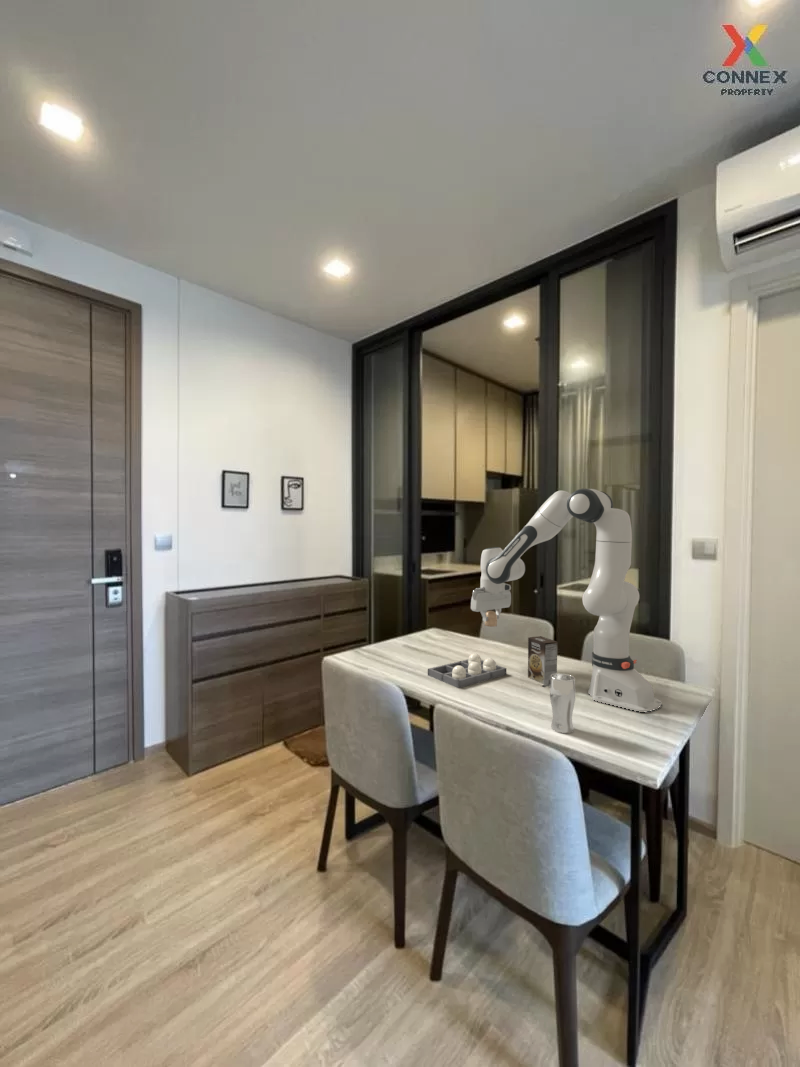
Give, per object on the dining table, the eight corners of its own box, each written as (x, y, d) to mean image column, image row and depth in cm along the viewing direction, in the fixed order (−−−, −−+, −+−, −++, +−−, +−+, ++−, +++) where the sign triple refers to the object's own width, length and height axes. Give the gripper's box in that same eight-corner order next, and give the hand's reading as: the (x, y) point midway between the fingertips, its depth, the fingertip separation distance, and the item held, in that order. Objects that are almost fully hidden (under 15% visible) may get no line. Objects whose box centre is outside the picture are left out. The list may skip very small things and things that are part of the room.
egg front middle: (484, 678, 172) (484, 662, 172) (474, 680, 169) (474, 664, 169) (474, 674, 176) (474, 659, 176) (465, 677, 173) (465, 661, 173)
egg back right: (483, 668, 183) (483, 654, 183) (474, 671, 181) (474, 656, 180) (474, 665, 188) (474, 651, 187) (465, 668, 185) (465, 653, 184)
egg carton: (506, 677, 177) (506, 668, 176) (458, 690, 162) (458, 681, 162) (474, 666, 190) (474, 657, 190) (427, 677, 176) (427, 668, 176)
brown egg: (499, 625, 189) (499, 611, 189) (491, 627, 186) (491, 612, 186) (490, 623, 193) (490, 609, 193) (482, 624, 190) (482, 610, 190)
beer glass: (569, 723, 136) (569, 672, 135) (579, 734, 129) (579, 680, 128) (545, 723, 135) (546, 673, 135) (554, 734, 128) (555, 681, 128)
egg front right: (498, 674, 177) (498, 658, 177) (489, 676, 174) (489, 661, 174) (489, 670, 181) (489, 655, 181) (480, 673, 178) (480, 657, 178)
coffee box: (527, 679, 174) (527, 637, 174) (540, 677, 177) (540, 635, 176) (544, 687, 166) (544, 642, 165) (557, 684, 168) (558, 640, 168)
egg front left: (468, 682, 168) (468, 666, 168) (458, 685, 165) (458, 668, 165) (459, 678, 172) (459, 662, 172) (449, 681, 169) (449, 665, 169)
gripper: (478, 589, 180) (478, 624, 181) (513, 585, 192) (513, 618, 193) (467, 587, 186) (467, 621, 186) (502, 583, 197) (502, 616, 198)
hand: (491, 620), depth 189 cm, fingers closed on brown egg, 5 cm apart
